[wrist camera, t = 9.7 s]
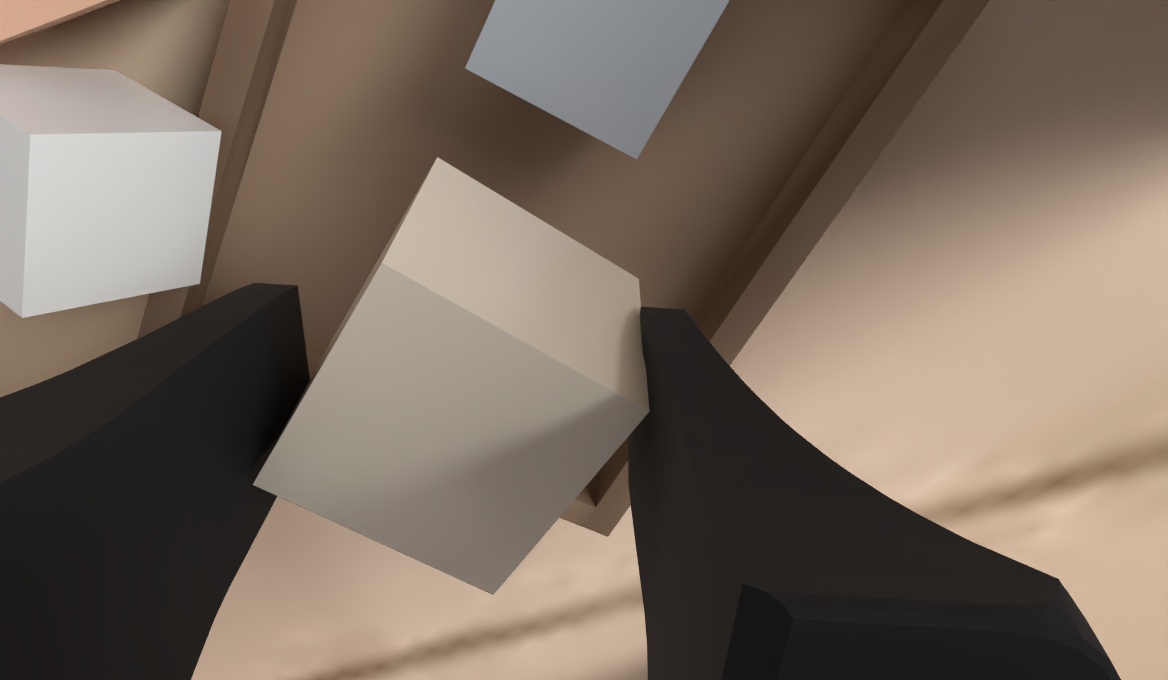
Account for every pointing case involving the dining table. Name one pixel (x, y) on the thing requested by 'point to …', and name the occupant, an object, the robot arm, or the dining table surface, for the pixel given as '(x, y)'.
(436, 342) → the beige block
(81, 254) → the white block
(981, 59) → the dining table surface
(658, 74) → the blue-grey block
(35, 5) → the terracotta bowl
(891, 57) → the walnut tray
